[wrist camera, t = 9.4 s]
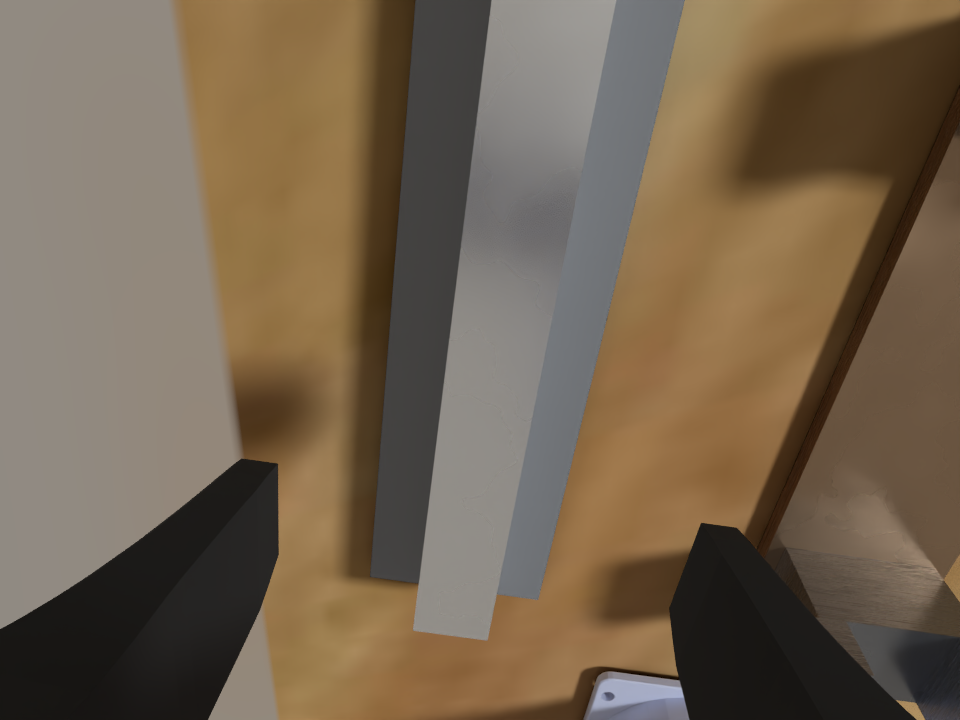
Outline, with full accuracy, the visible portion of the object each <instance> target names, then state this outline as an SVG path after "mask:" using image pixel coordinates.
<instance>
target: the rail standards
mask: <svg viewBox="0 0 960 720" xmlns="http://www.w3.org/2000/svg"><path fill="white" fill-rule="evenodd" d="M757 551H758V552H759V553H760V555H761V556H762V557H763V558H764V559H765V560H766V562H767V563H768V564H769V565H770V566H771V567H772V569H773V570H774V571H775V572H776V573H777V574H778V575H779V577H780V578H781V579H782V580H783V581H784V582H785V584H786V585H787V586H788V587H789V588H790V589H791V591H792V592H793V593H794V594H795V595H796V596H797V597H798V599H799V600H800V601H801V602H802V603H803V604H804V605H805V607H806V608H807V609H808V610H809V611H810V612H811V613H812V614H813V615H814V617H815V618H816V619H817V620H818V621H819V622H820V623H821V624H822V625H823V627H824V628H825V629H826V630H827V631H828V632H829V633H830V634H831V635H832V636H833V637H834V638H835V640H836V641H837V642H838V643H839V644H840V645H841V646H842V647H843V648H844V649H845V650H846V651H847V652H848V653H849V654H850V655H851V656H852V657H853V658H854V659H855V661H856V662H857V663H858V664H859V665H860V666H861V667H862V668H863V669H864V670H865V671H866V672H867V673H868V674H869V675H870V676H871V677H872V678H873V679H874V680H875V681H876V682H877V683H878V684H879V685H880V686H881V687H882V688H883V689H884V690H885V691H886V692H887V693H888V694H889V695H890V696H891V697H893V698H894V699H895V700H900V701H908V702H915V703H917V705H918V707H919V709H920V711H921V712H922V714H923V716H924V718H925V720H960V602H959V601H958V599H957V598H956V597H955V595H954V594H953V592H952V591H951V590H950V588H949V587H948V585H947V584H946V583H945V581H944V578H945V576H946V575H947V573H948V572H949V570H950V568H951V567H952V565H953V564H954V562H955V561H956V559H957V557H958V556H959V554H960V87H959V89H958V91H957V93H956V96H955V98H954V100H953V103H952V105H951V107H950V109H949V112H948V114H947V116H946V119H945V121H944V123H943V125H942V128H941V130H940V132H939V135H938V137H937V139H936V141H935V144H934V146H933V148H932V151H931V153H930V155H929V157H928V160H927V162H926V164H925V167H924V169H923V171H922V174H921V176H920V178H919V180H918V183H917V185H916V187H915V190H914V192H913V194H912V196H911V199H910V201H909V203H908V206H907V208H906V210H905V212H904V215H903V217H902V219H901V222H900V224H899V226H898V228H897V231H896V233H895V235H894V238H893V240H892V242H891V244H890V247H889V249H888V251H887V254H886V256H885V258H884V260H883V263H882V265H881V267H880V270H879V272H878V274H877V277H876V279H875V281H874V283H873V286H872V288H871V290H870V293H869V295H868V297H867V299H866V302H865V304H864V306H863V309H862V311H861V313H860V315H859V318H858V320H857V322H856V325H855V327H854V329H853V331H852V334H851V336H850V338H849V341H848V343H847V345H846V347H845V350H844V352H843V354H842V357H841V359H840V361H839V363H838V366H837V368H836V370H835V373H834V375H833V377H832V379H831V382H830V384H829V386H828V389H827V391H826V393H825V396H824V398H823V400H822V402H821V405H820V407H819V409H818V412H817V414H816V416H815V418H814V421H813V423H812V425H811V428H810V430H809V432H808V434H807V437H806V439H805V441H804V444H803V446H802V448H801V450H800V453H799V455H798V457H797V460H796V462H795V464H794V466H793V469H792V471H791V473H790V476H789V478H788V480H787V482H786V485H785V487H784V489H783V492H782V494H781V496H780V499H779V501H778V503H777V505H776V508H775V510H774V512H773V515H772V517H771V519H770V521H769V524H768V526H767V528H766V531H765V533H764V535H763V537H762V540H761V542H760V544H759V547H758V549H757Z"/></svg>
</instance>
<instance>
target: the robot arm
mask: <svg viewBox="0 0 960 720" xmlns="http://www.w3.org/2000/svg"><path fill="white" fill-rule="evenodd" d="M278 555H279V548H278V464H276V463H269V462H262V461H255V460H248V459H241V460H239V461H238V462H236V463H235V464H234V465H233V466H231V467H230V468H229V469H228V470H226V471H225V472H224V473H223V474H222V475H220V476H219V477H218V478H217V479H215V480H214V481H213V482H212V483H211V484H209V485H208V486H207V487H206V488H205V489H203V490H202V491H201V492H200V493H199V494H197V495H196V496H195V497H194V498H192V499H191V500H190V501H189V502H187V503H186V504H185V505H184V506H182V507H181V508H180V509H179V510H177V511H176V512H175V513H174V514H172V515H171V516H170V517H168V518H167V519H166V520H165V521H163V522H162V523H161V524H160V525H158V526H157V527H156V528H154V529H153V530H152V531H150V532H149V533H148V534H146V535H145V536H144V537H143V538H141V539H140V540H139V541H137V542H136V543H134V544H133V545H132V546H130V547H129V548H127V549H126V550H125V551H123V552H122V553H120V554H119V555H117V556H116V557H115V558H113V559H112V560H110V561H109V562H108V563H106V564H105V565H103V566H102V567H100V568H99V569H98V570H96V571H95V572H93V573H92V574H91V575H89V576H88V577H86V578H84V579H83V580H82V581H80V582H78V583H77V584H75V585H74V586H72V587H71V588H69V589H68V590H66V591H64V592H63V593H61V594H60V595H58V596H57V597H55V598H53V599H52V600H50V601H48V602H47V603H45V604H43V605H42V606H40V607H38V608H37V609H35V610H33V611H32V612H30V613H28V614H27V615H25V616H23V617H22V618H20V619H18V620H16V621H14V622H13V623H11V624H9V625H7V626H6V627H3V628H2V629H0V720H208V718H209V716H210V714H211V712H212V710H213V708H214V706H215V704H216V702H217V699H218V697H219V695H220V693H221V691H222V689H223V687H224V685H225V683H226V681H227V679H228V677H229V674H230V672H231V670H232V668H233V666H234V664H235V662H236V660H237V658H238V656H239V653H240V651H241V649H242V647H243V645H244V643H245V641H246V638H247V637H248V634H249V632H250V630H251V628H252V626H253V624H254V622H255V619H256V617H257V615H258V613H259V611H260V608H261V605H262V602H263V600H264V597H265V594H266V591H267V588H268V585H269V582H270V579H271V576H272V573H273V570H274V567H275V564H276V561H277V558H278ZM669 610H670V619H671V628H672V638H673V645H674V653H675V660H676V667H677V671H678V676H679V680H680V681H679V680H672V679H665V678H657V677H650V676H643V675H635V674H628V673H620V672H613V671H607V672H603V673H602V674H600V675H599V676H598V677H597V680H596V683H595V686H594V689H593V692H592V695H591V698H590V701H589V704H588V707H587V710H586V713H585V716H584V719H583V720H916V719H915V718H914V717H913V716H912V715H911V714H910V713H908V712H907V711H906V710H905V709H904V708H903V707H902V706H901V705H900V704H899V703H898V702H897V701H896V700H895V699H894V698H893V697H891V696H890V695H889V694H888V693H887V692H886V691H885V690H884V689H883V688H882V687H881V686H880V685H879V684H878V683H877V682H876V681H875V680H874V679H873V678H872V677H871V676H870V675H869V674H868V673H867V672H866V671H865V670H864V669H863V668H862V667H861V666H860V665H859V664H858V663H857V662H856V661H855V659H854V658H853V657H852V656H851V655H850V654H849V653H848V652H847V651H846V650H845V649H844V648H843V647H842V646H841V645H840V644H839V643H838V642H837V641H836V640H835V638H834V637H833V636H832V635H831V634H830V633H829V632H828V631H827V630H826V629H825V628H824V627H823V625H822V624H821V623H820V622H819V621H818V620H817V619H816V618H815V617H814V615H813V614H812V613H811V612H810V611H809V610H808V609H807V608H806V607H805V605H804V604H803V603H802V602H801V601H800V600H799V599H798V597H797V596H796V595H795V594H794V593H793V592H792V591H791V589H790V588H789V587H788V586H787V585H786V584H785V582H784V581H783V580H782V579H781V578H780V577H779V575H778V574H777V573H776V572H775V571H774V570H773V569H772V567H771V566H770V565H769V564H768V563H767V562H766V560H765V559H764V558H763V557H762V556H761V555H760V553H759V552H758V551H757V550H756V549H755V548H754V546H753V545H752V544H751V543H750V542H749V541H748V540H747V538H746V537H745V536H744V535H743V534H742V533H741V532H740V531H739V530H738V529H737V528H734V527H727V526H720V525H712V524H705V523H701V525H700V528H699V530H698V533H697V536H696V538H695V541H694V544H693V546H692V549H691V552H690V554H689V557H688V560H687V562H686V565H685V568H684V570H683V573H682V576H681V578H680V581H679V584H678V586H677V589H676V592H675V594H674V597H673V600H672V602H671V605H670V608H669Z"/></svg>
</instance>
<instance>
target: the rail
mask: <svg viewBox="0 0 960 720" xmlns="http://www.w3.org/2000/svg"><path fill="white" fill-rule="evenodd" d="M615 4H616V0H492V1H491V9H490V17H489V25H488V33H487V41H486V49H485V57H484V65H483V73H482V81H481V90H480V98H479V106H478V114H477V122H476V130H475V138H474V146H473V154H472V162H471V170H470V178H469V186H468V194H467V202H466V210H465V218H464V226H463V234H462V242H461V250H460V258H459V266H458V274H457V282H456V290H455V298H454V306H453V314H452V322H451V330H450V338H449V346H448V354H447V362H446V370H445V378H444V386H443V394H442V402H441V410H440V418H439V426H438V434H437V442H436V450H435V458H434V466H433V474H432V482H431V490H430V498H429V506H428V514H427V522H426V530H425V538H424V546H423V554H422V562H421V571H420V579H419V587H418V595H417V603H416V611H415V619H414V627H413V631H420V632H428V633H435V634H443V635H450V636H457V637H465V638H472V639H480V640H488V635H489V630H490V625H491V620H492V615H493V610H494V605H495V600H496V595H497V590H498V585H499V580H500V575H501V570H502V565H503V560H504V555H505V550H506V545H507V540H508V535H509V531H510V526H511V521H512V516H513V511H514V506H515V501H516V496H517V491H518V486H519V481H520V476H521V471H522V466H523V461H524V456H525V451H526V446H527V441H528V436H529V431H530V426H531V421H532V416H533V411H534V406H535V401H536V397H537V392H538V387H539V382H540V377H541V372H542V367H543V362H544V357H545V352H546V347H547V342H548V337H549V332H550V327H551V322H552V317H553V312H554V307H555V302H556V297H557V292H558V287H559V282H560V277H561V272H562V267H563V263H564V258H565V253H566V248H567V243H568V238H569V233H570V228H571V223H572V218H573V213H574V208H575V203H576V198H577V193H578V188H579V183H580V178H581V173H582V168H583V163H584V158H585V153H586V148H587V143H588V138H589V133H590V129H591V124H592V119H593V114H594V109H595V104H596V99H597V94H598V89H599V84H600V79H601V74H602V69H603V64H604V59H605V54H606V49H607V44H608V39H609V34H610V29H611V24H612V19H613V14H614V9H615Z"/></svg>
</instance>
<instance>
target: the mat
mask: <svg viewBox="0 0 960 720" xmlns="http://www.w3.org/2000/svg"><path fill="white" fill-rule="evenodd" d="M491 1H492V0H416V2H415V14H414V27H413V40H412V52H411V65H410V78H409V90H408V103H407V116H406V128H405V141H404V154H403V166H402V179H401V192H400V204H399V217H398V230H397V242H396V255H395V268H394V280H393V293H392V306H391V318H390V331H389V344H388V356H387V369H386V382H385V394H384V407H383V420H382V432H381V445H380V458H379V470H378V483H377V495H376V508H375V521H374V533H373V546H372V559H371V571H370V577H375V578H382V579H389V580H397V581H404V582H411V583H418V584H419V579H420V571H421V562H422V554H423V546H424V538H425V530H426V522H427V514H428V506H429V498H430V490H431V482H432V474H433V466H434V458H435V450H436V442H437V434H438V426H439V418H440V410H441V402H442V394H443V386H444V378H445V370H446V362H447V354H448V346H449V338H450V330H451V322H452V314H453V306H454V298H455V290H456V282H457V274H458V266H459V258H460V250H461V242H462V234H463V226H464V218H465V210H466V202H467V194H468V186H469V178H470V170H471V162H472V154H473V146H474V138H475V130H476V122H477V114H478V106H479V98H480V90H481V81H482V73H483V65H484V57H485V49H486V41H487V33H488V25H489V17H490V9H491ZM684 1H685V0H616V4H615V9H614V14H613V19H612V24H611V29H610V34H609V39H608V44H607V49H606V54H605V59H604V64H603V69H602V74H601V79H600V84H599V89H598V94H597V99H596V104H595V109H594V114H593V119H592V124H591V129H590V133H589V138H588V143H587V148H586V153H585V158H584V163H583V168H582V173H581V178H580V183H579V188H578V193H577V198H576V203H575V208H574V213H573V218H572V223H571V228H570V233H569V238H568V243H567V248H566V253H565V258H564V263H563V267H562V272H561V277H560V282H559V287H558V292H557V297H556V302H555V307H554V312H553V317H552V322H551V327H550V332H549V337H548V342H547V347H546V352H545V357H544V362H543V367H542V372H541V377H540V382H539V387H538V392H537V397H536V401H535V406H534V411H533V416H532V421H531V426H530V431H529V436H528V441H527V446H526V451H525V456H524V461H523V466H522V471H521V476H520V481H519V486H518V491H517V496H516V501H515V506H514V511H513V516H512V521H511V526H510V531H509V535H508V540H507V545H506V550H505V555H504V560H503V565H502V570H501V575H500V580H499V585H498V590H497V594H499V595H506V596H514V597H521V598H528V599H535V600H538V598H539V594H540V590H541V586H542V582H543V578H544V574H545V569H546V565H547V561H548V557H549V553H550V549H551V545H552V541H553V537H554V533H555V529H556V524H557V520H558V516H559V512H560V508H561V504H562V500H563V496H564V492H565V488H566V484H567V480H568V475H569V471H570V467H571V463H572V459H573V455H574V451H575V447H576V443H577V439H578V435H579V430H580V426H581V422H582V418H583V414H584V410H585V406H586V402H587V398H588V394H589V390H590V386H591V381H592V377H593V373H594V369H595V365H596V361H597V357H598V353H599V349H600V345H601V341H602V336H603V332H604V328H605V324H606V320H607V316H608V312H609V308H610V304H611V300H612V296H613V291H614V287H615V283H616V279H617V275H618V271H619V267H620V263H621V259H622V255H623V251H624V247H625V242H626V238H627V234H628V230H629V226H630V222H631V218H632V214H633V210H634V206H635V202H636V197H637V193H638V189H639V185H640V181H641V177H642V173H643V169H644V165H645V161H646V157H647V152H648V148H649V144H650V140H651V136H652V132H653V128H654V124H655V120H656V116H657V112H658V108H659V103H660V99H661V95H662V91H663V87H664V83H665V79H666V75H667V71H668V67H669V63H670V58H671V54H672V50H673V46H674V42H675V38H676V34H677V30H678V26H679V22H680V18H681V14H682V9H683V5H684Z"/></svg>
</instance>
